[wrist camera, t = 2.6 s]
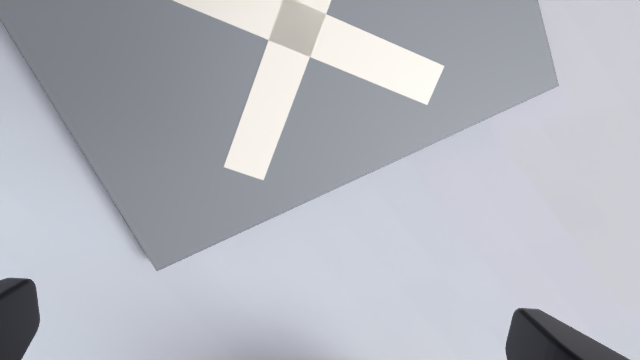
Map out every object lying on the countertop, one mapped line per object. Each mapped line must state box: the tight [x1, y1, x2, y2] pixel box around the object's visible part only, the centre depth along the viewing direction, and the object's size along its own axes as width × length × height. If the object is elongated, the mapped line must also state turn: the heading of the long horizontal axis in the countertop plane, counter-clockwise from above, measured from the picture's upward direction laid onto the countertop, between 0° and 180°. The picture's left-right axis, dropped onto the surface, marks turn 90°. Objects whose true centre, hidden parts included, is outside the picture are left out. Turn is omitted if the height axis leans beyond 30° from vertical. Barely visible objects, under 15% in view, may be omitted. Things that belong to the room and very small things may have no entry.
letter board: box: [0, 0, 559, 271], centre depth 19 cm, size 20×14×1 cm
